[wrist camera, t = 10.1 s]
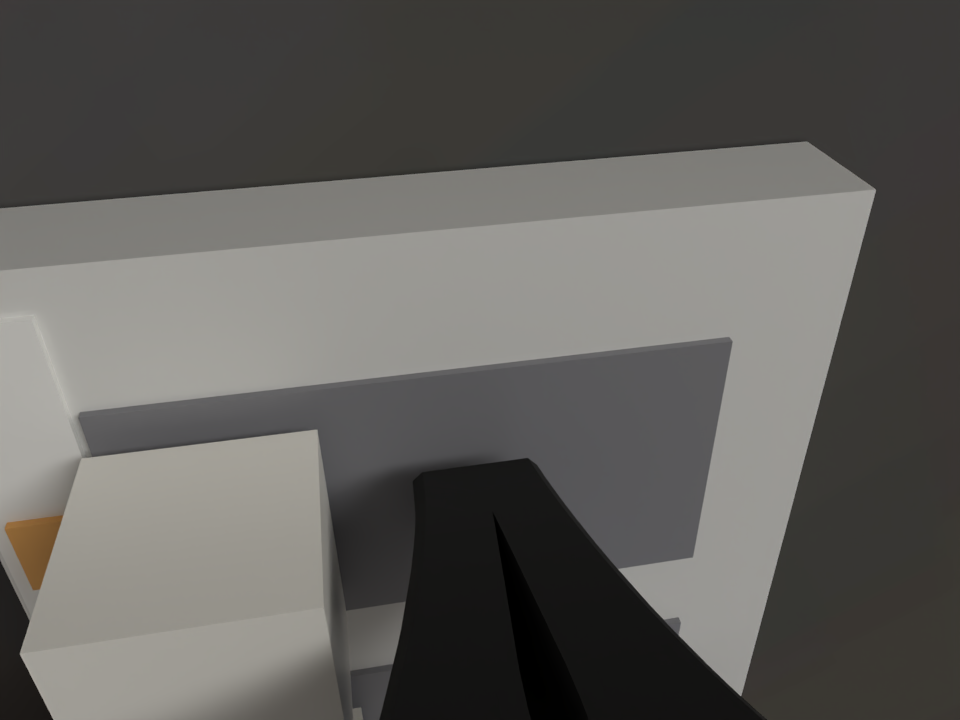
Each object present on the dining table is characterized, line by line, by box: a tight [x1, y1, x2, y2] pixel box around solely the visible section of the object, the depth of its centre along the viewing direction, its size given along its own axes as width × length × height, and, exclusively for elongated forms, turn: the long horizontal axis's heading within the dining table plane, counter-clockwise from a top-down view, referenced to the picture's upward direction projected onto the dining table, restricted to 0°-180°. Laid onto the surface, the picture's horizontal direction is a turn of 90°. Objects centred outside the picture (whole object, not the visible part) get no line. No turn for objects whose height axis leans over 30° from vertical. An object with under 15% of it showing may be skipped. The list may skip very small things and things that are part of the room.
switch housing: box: [0, 142, 876, 720], centre depth 14 cm, size 17×10×2 cm, turn 1°
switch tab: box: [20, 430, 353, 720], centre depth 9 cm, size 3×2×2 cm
